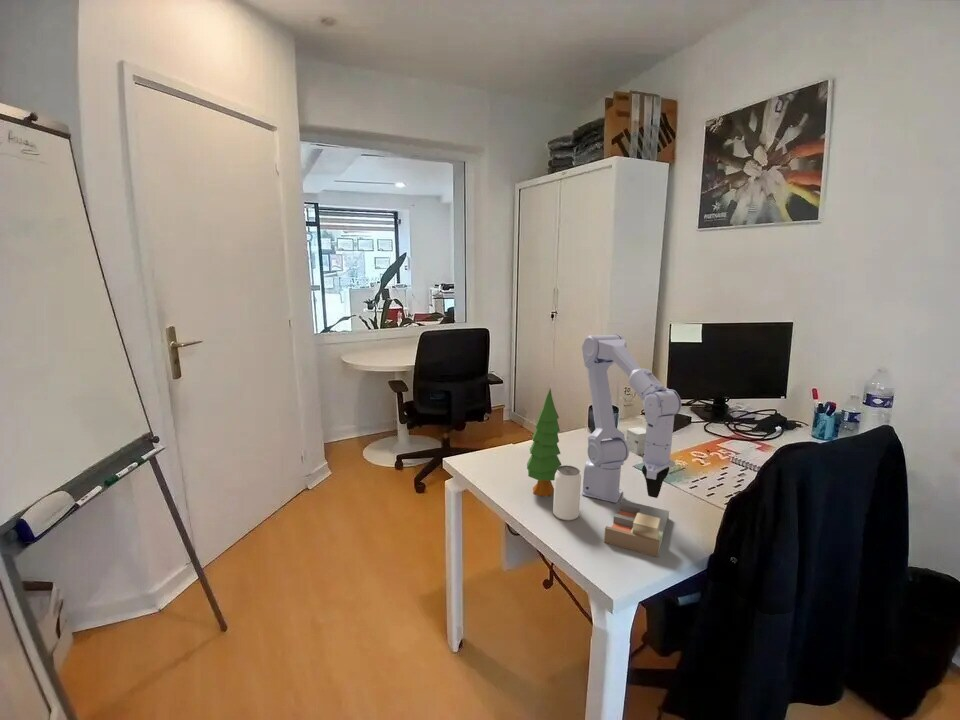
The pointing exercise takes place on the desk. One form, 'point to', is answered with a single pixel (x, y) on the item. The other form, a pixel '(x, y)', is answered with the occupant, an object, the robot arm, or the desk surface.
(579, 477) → the can
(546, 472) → the decorative tree
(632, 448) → the skincare box
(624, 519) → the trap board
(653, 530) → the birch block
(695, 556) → the desk surface
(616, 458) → the robot arm
